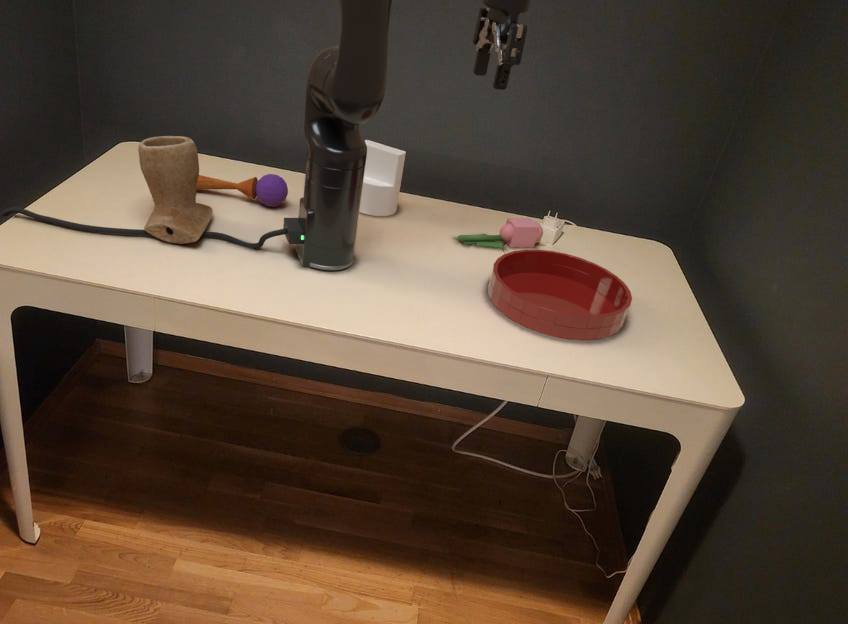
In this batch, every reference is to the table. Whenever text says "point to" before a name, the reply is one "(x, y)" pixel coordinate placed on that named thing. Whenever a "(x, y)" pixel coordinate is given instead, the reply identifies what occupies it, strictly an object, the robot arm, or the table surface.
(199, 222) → the stone cup
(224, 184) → the kendama
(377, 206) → the base with upright slab
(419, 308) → the table surface
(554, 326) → the bowl
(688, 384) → the table surface
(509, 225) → the tulip
